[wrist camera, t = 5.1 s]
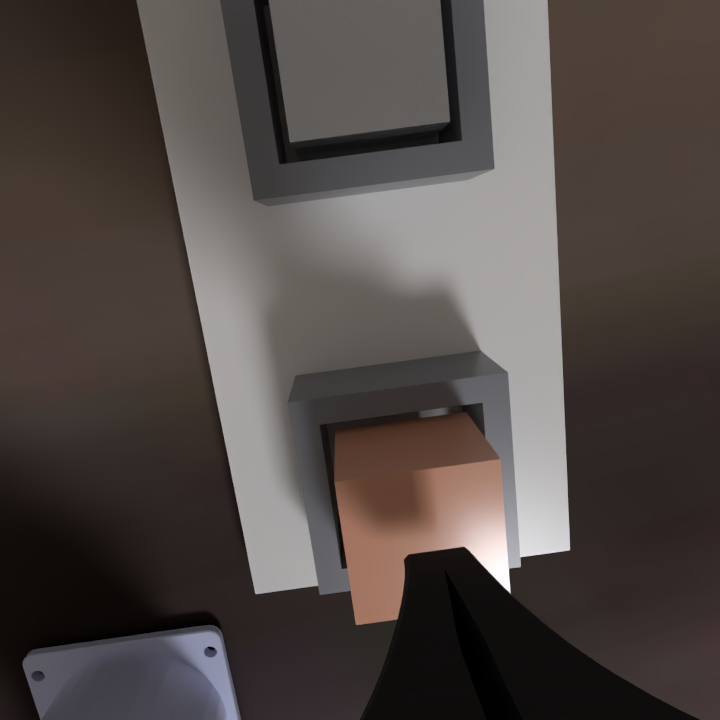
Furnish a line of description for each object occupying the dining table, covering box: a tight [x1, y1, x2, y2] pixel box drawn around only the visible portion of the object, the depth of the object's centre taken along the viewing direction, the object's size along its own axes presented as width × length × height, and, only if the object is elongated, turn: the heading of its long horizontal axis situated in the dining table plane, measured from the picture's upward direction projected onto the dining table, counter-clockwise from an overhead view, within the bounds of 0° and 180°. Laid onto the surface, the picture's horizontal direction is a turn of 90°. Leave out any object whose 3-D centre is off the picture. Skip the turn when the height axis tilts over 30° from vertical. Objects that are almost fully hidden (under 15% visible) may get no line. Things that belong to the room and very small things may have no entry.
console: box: [137, 0, 570, 595], centre depth 17 cm, size 22×12×4 cm, turn 7°
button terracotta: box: [334, 412, 510, 625], centre depth 15 cm, size 4×4×4 cm
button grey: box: [269, 0, 450, 161], centre depth 14 cm, size 4×4×4 cm
